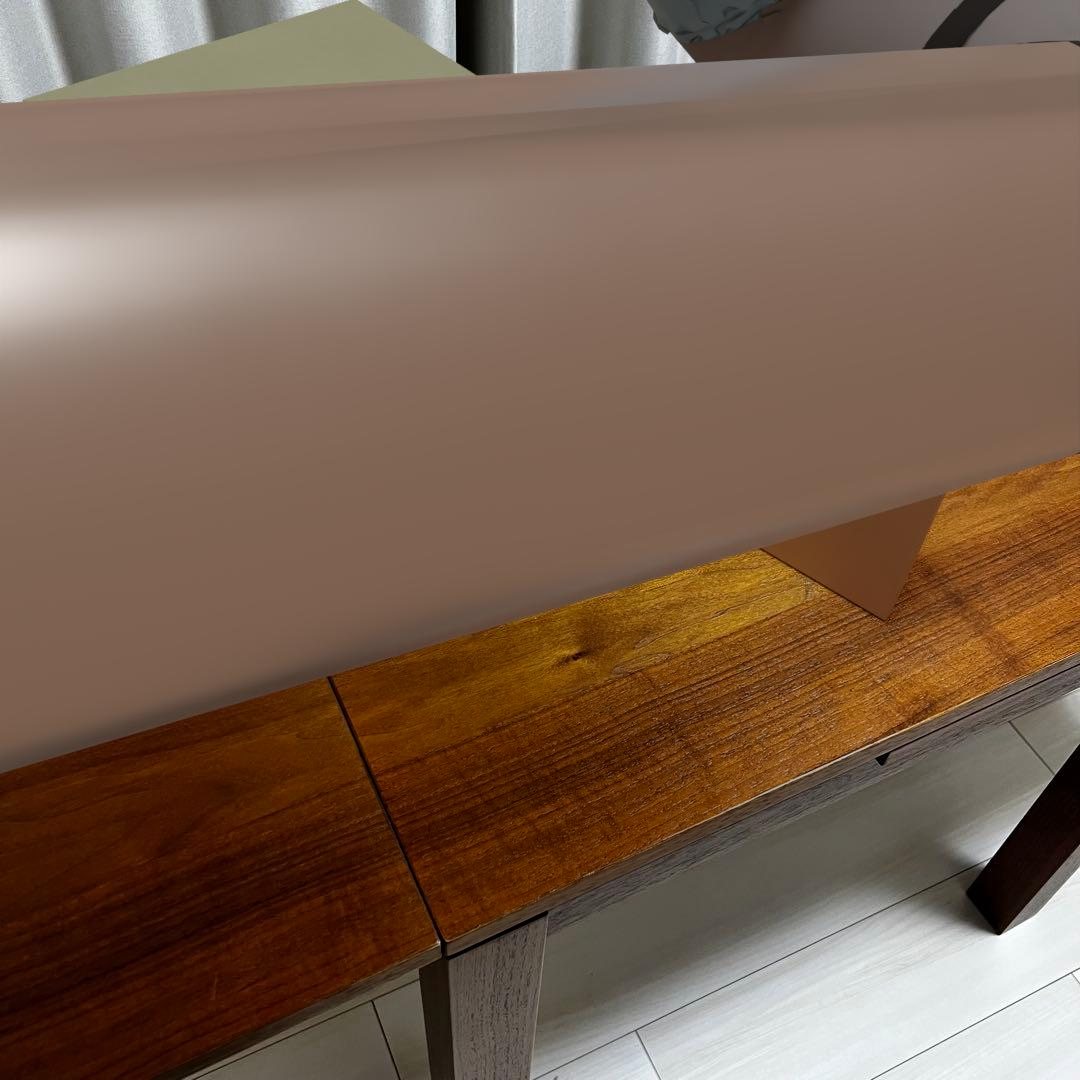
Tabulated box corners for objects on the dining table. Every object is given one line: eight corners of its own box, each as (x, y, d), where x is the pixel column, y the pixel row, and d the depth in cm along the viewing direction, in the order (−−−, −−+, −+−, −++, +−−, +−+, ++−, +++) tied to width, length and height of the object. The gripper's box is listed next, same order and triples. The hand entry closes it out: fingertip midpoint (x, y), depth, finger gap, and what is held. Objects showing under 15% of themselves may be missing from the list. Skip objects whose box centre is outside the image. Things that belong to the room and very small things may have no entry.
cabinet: (584, 439, 93) (617, 164, 75) (305, 602, 80) (267, 319, 63) (369, 266, 106) (355, -3, 88) (101, 384, 93) (21, 99, 76)
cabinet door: (637, 402, 96) (681, 134, 78) (928, 564, 86) (1053, 300, 68) (586, 446, 92) (621, 175, 74) (884, 621, 82) (1005, 356, 65)
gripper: (596, 517, 37) (150, 602, 48) (781, 218, 55) (426, 332, 67) (489, 299, 34) (40, 446, 45) (723, 59, 52) (361, 208, 63)
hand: (269, 378), depth 56 cm, fingers open, 13 cm apart
